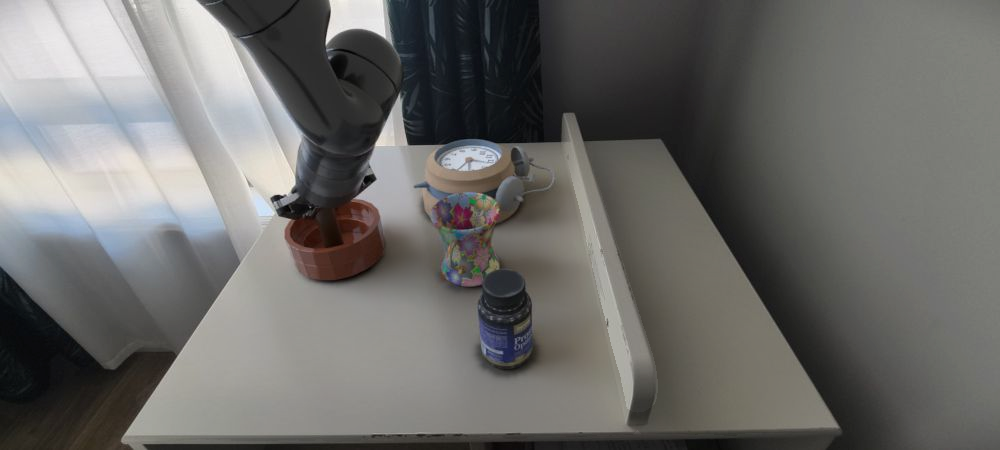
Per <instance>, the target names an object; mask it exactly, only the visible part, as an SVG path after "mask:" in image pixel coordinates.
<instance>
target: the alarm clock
mask: <svg viewBox="0 0 1000 450" xmlns="http://www.w3.org/2000/svg"><path fill="white" fill-rule="evenodd" d="M533 161H534V157H532V156H531V157H529V156H528V154H527V151H526V150H525V149H524V148H523V147H522V146H519V145H515V146H512V147H511V150H510V151H509V150H508V149H506V148H505V147H504V146H502V145H501V144H498V143H496V142H493V141H490V140H485V139H478V138H474V139H473V138H472V139H471V138H470V139H469V138H468V139H459V140H455V141H452V142H449V143H447V144H444V145H442V146H440V147H439V148H437V149H435V150H434V151H432V152H431V153H430V154H429V156H428V157H427V159H426V162H425V164H426V167H425V170H424V172H423V173H424V174H423V175H424V180H425V181H423V182H420V183H416V184H414V185H413V189H422V200H423V201H422V202H423V207H424V212H425V213H426V214H427V215H428V217H429V218H430V219H431V217H430V213H431V209H432V208H433V206H434V205H435V204H436V203H437V202H438V201H440V200H441V199H443V198H445V197H447V196H450V195H453V194H458V193H465V192H473V193H480V194H484V195H487V196H489V197H491V198H493V199H494V200H495V201H496V202H497V203H498V205H499V207H500V214H499V217H498V219H497V221H496V223H495V225H496V224H500V223H501V222H504V221H506V220H507V219H508V218H510V217H511V216H512V215H513V214H514V213H515V212H517V210H518V208H519V206H520V204H521V203H523V202H524V198H523V197H524V196H526V195H529V194H532V193H533V194H534V193H544V192H547V191H549V190H550V189H552V188H553V186H554V184H555V182H556V173H555V171H554V170H553V169H552V168H550V167H548V166H544V165H543V166H542V165H537V164H535V163H533ZM530 165H531V166H532V167H534V168H537V169H541V170H545V171H548V172H550V173H551V174H552V181H551V183H550V185H549V186H547V187H545V188H541V189H531V190H527V191H525V186H524V183H523V182H522V180H523V181H524V180H528V183H529V184H533V182H534V177H535V174H534V173H531V174H530V170H531V166H530ZM529 174H530V176H529Z"/></svg>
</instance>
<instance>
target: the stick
mask: <svg viewBox="0 0 1000 450" xmlns="http://www.w3.org/2000/svg"><path fill="white" fill-rule="evenodd" d="M315 218H316V221H317V225H318V228H319V231H320V234H321V237H322V240H323V243H324V246H325V248H331V247H335V246H339V245H343V244H344V240H343V237H342V233H341V230H340V226H339V223H338V219H337V216H336V212H335V209H334V208H325V207H323V208H322V209H321V211H318V212H316V216H315Z"/></svg>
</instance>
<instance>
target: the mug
mask: <svg viewBox="0 0 1000 450" xmlns="http://www.w3.org/2000/svg"><path fill="white" fill-rule="evenodd" d="M499 214H500V207H499V205H498V203H497V202H496V201H495V200H494V199H493V198H491V197H489V196H487V195H484V194H480V193H473V192H465V193H458V194H453V195H450V196H447V197H445V198H443V199H441V200H440V201H438V202H437V203H436V204H435V205H434V206H433V208H432V209H431V213H430V217H431V218H430V217H429V218H430V221H431V223H432V224H433V225H434V227H436V229H437V231H438V232H439V234H440V236H441V239H442V242H443V247H444V257H443V260H442V262H441V267H440V270H441V274H442V276H443V277H444V279H446V281H448V282H449V283H450V284H453V285H455V286H459V287H463V288H464V287H466V288H470V287H471V288H472V287H478V286H482V282H483V279H484V277H485V276H486V275H487V274H488V273H490V272H492V271H494V270H497V269H501V262H500V259H499V257H498V255H496V252H495V250H494V246H493V236H494V230H495V226H496V224H497V223H496V221H497V219H498V217H499ZM495 223H496V224H495Z"/></svg>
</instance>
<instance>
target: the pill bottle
mask: <svg viewBox="0 0 1000 450" xmlns="http://www.w3.org/2000/svg"><path fill="white" fill-rule="evenodd" d="M481 287H482V291H481V292H482V293H481V294H480V295H479V298H478V300H477V315H478V326H479V327H478V329H479V337H480V346H481V347H480V348H481V354H482V356H483V358H484V360H485V361H486V363H488V364H489V365H491V366H492V367H494V368H497V369H500V370H514V369H517V368H520V367H521V366H523V365H524V364H526V363H527V361H528V360H529V359H530V358H531V355H532V352H533V300H532V298H531V296H530V294H529V292H528V291H527V290H526V289H527V288H526V287H527V286H526V279H525V277H524V275H522V273H520V272H519V271H517V270H515V269H512V268H499V269H497V270H494V271H492V272H490V273H488V274H487V275H486V276H485V277H484V279H483V282H482V285H481Z"/></svg>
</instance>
